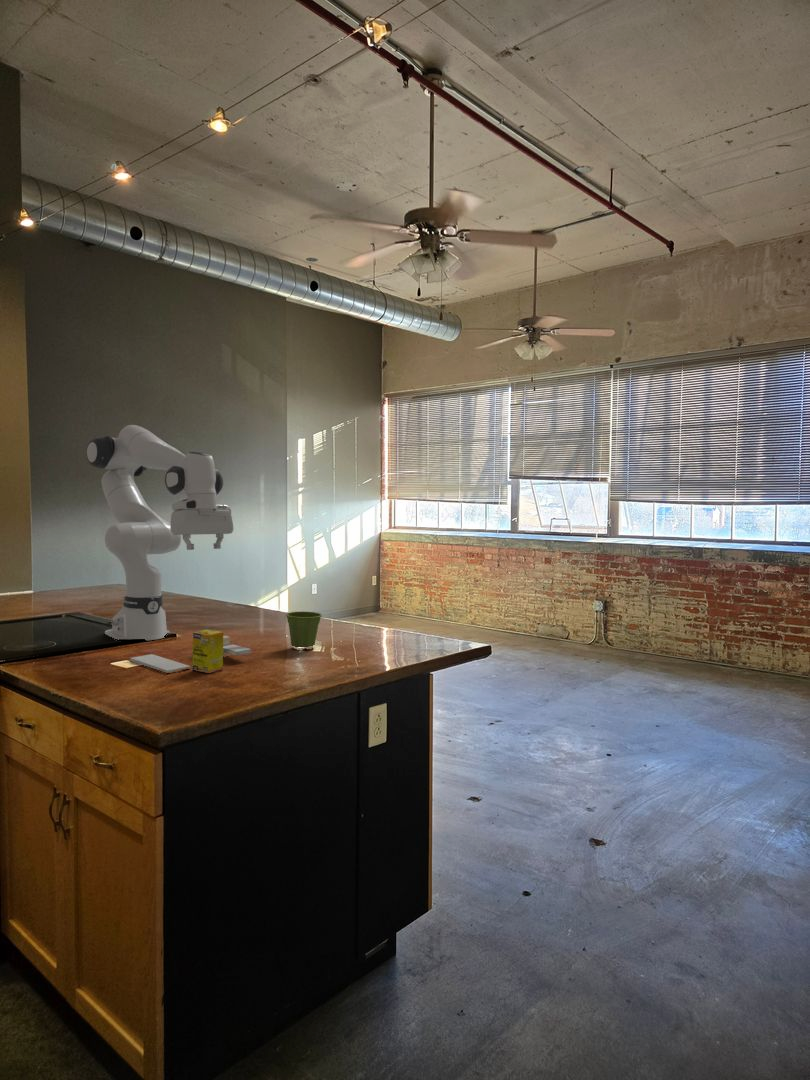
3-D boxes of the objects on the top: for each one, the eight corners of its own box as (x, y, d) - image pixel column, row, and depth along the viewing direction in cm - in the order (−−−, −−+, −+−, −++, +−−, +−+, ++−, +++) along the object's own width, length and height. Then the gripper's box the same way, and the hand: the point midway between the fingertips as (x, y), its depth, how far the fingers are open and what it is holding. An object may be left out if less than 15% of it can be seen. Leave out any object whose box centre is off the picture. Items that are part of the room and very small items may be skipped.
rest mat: (129, 661, 200) (129, 657, 200) (152, 657, 205) (152, 654, 205) (167, 674, 187) (167, 670, 187) (190, 669, 193) (190, 666, 192)
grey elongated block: (203, 654, 212) (203, 634, 211) (216, 651, 216) (217, 632, 215) (236, 663, 201) (236, 643, 201) (250, 660, 205) (250, 641, 204)
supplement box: (191, 671, 191) (192, 632, 190) (207, 666, 196) (207, 628, 196) (208, 674, 188) (208, 634, 188) (223, 669, 194) (223, 631, 193)
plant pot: (318, 653, 217) (319, 617, 217) (281, 652, 218) (282, 616, 217) (324, 645, 229) (324, 611, 228) (288, 644, 229) (289, 610, 229)
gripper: (224, 505, 221) (226, 548, 221) (166, 504, 205) (168, 550, 205) (236, 504, 217) (238, 547, 217) (178, 502, 201) (180, 550, 201)
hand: (204, 549), depth 211 cm, fingers open, 8 cm apart
